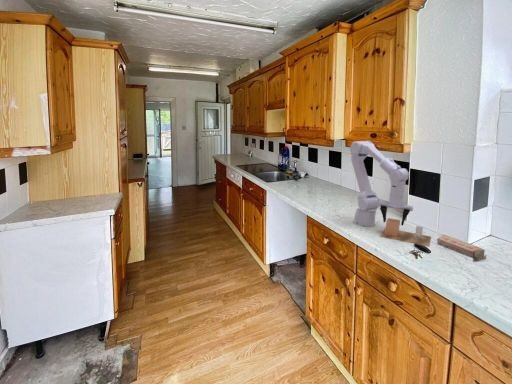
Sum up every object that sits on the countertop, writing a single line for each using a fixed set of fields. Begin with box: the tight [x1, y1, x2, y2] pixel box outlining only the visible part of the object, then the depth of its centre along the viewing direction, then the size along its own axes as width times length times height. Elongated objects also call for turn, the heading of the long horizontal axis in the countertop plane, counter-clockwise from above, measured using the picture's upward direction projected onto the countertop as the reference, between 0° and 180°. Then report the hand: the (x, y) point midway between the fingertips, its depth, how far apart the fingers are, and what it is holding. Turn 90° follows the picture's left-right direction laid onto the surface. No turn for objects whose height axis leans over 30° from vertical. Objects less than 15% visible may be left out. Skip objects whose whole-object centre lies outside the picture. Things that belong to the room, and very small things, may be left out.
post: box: [414, 225, 424, 240], centre depth 137 cm, size 3×3×6 cm
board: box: [379, 227, 432, 248], centre depth 140 cm, size 20×14×1 cm
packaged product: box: [436, 234, 487, 262], centre depth 128 cm, size 18×5×10 cm
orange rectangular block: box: [384, 217, 401, 237], centre depth 143 cm, size 5×5×7 cm
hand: (393, 223), depth 142 cm, fingers open, 7 cm apart
